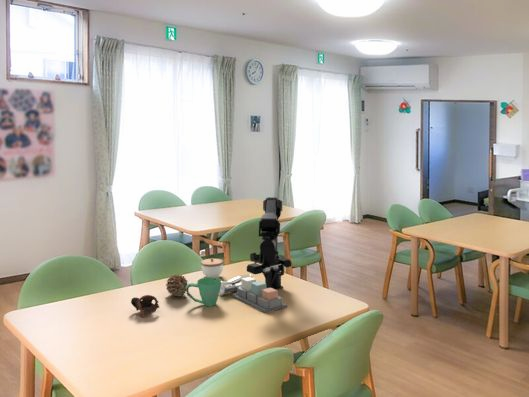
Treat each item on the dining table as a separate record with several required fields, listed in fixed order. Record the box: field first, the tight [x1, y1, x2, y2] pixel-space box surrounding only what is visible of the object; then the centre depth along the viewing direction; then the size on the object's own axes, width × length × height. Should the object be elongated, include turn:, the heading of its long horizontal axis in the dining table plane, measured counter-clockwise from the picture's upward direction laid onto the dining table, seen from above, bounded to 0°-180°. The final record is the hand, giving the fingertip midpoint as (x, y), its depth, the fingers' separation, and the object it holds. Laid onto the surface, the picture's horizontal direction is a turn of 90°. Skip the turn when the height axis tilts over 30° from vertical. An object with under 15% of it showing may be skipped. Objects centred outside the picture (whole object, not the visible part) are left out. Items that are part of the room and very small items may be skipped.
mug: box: [185, 277, 222, 307], centre depth 210 cm, size 15×10×10 cm
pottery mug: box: [130, 294, 160, 318], centre depth 202 cm, size 12×10×8 cm
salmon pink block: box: [262, 288, 278, 300], centre depth 207 cm, size 4×4×5 cm
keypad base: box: [232, 286, 288, 314], centre depth 214 cm, size 11×24×4 cm, turn 36°
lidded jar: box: [200, 257, 224, 280], centre depth 248 cm, size 11×11×9 cm
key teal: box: [251, 280, 267, 295], centre depth 213 cm, size 4×4×5 cm
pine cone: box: [165, 273, 189, 297], centre depth 225 cm, size 22×10×10 cm, turn 23°
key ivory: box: [241, 276, 257, 291], centre depth 219 cm, size 4×4×5 cm
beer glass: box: [219, 273, 254, 296], centre depth 226 cm, size 7×7×15 cm
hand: (269, 286), depth 207 cm, fingers closed
